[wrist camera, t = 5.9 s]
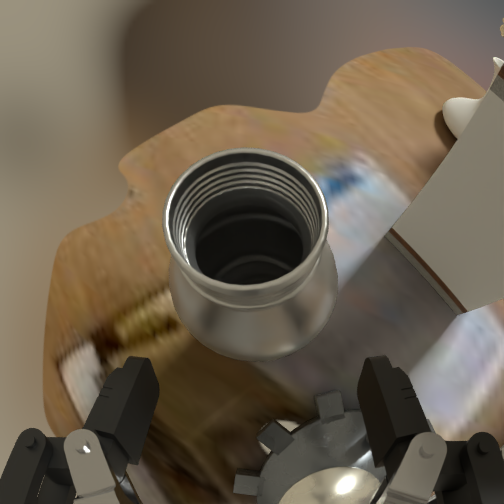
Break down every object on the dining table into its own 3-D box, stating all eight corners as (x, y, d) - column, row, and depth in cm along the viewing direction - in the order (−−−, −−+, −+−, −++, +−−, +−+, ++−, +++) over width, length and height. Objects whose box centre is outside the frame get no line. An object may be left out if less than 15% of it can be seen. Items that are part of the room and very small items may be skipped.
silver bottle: (284, 372, 23) (344, 417, 5) (211, 342, 25) (61, 284, 6) (311, 303, 25) (411, 155, 7) (240, 276, 27) (184, 92, 8)
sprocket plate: (294, 358, 24) (300, 357, 20) (457, 414, 20) (484, 418, 16) (204, 521, 18) (194, 544, 14) (370, 560, 15) (382, 580, 10)
